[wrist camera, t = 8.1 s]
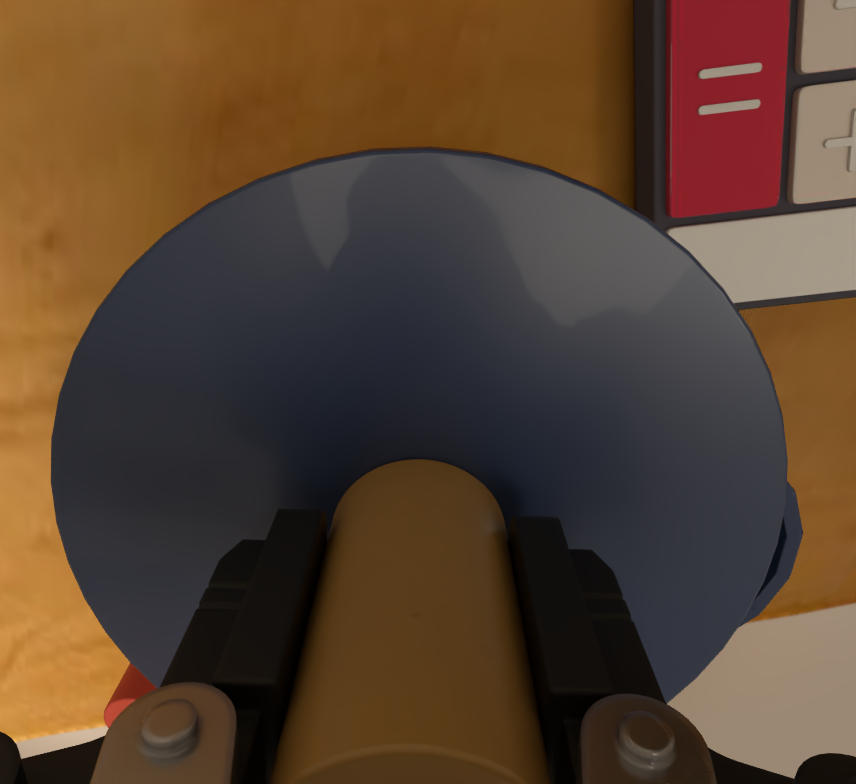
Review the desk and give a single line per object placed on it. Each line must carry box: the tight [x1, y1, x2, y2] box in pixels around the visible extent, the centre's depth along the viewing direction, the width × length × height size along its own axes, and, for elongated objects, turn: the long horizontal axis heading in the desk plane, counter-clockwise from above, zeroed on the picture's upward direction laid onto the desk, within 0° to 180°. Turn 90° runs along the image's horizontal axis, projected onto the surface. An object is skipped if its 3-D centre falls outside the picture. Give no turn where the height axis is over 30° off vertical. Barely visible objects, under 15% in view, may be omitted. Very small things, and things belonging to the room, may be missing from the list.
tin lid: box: [51, 146, 788, 784], centre depth 10 cm, size 13×13×7 cm
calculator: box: [634, 0, 856, 310], centre depth 30 cm, size 11×4×15 cm
